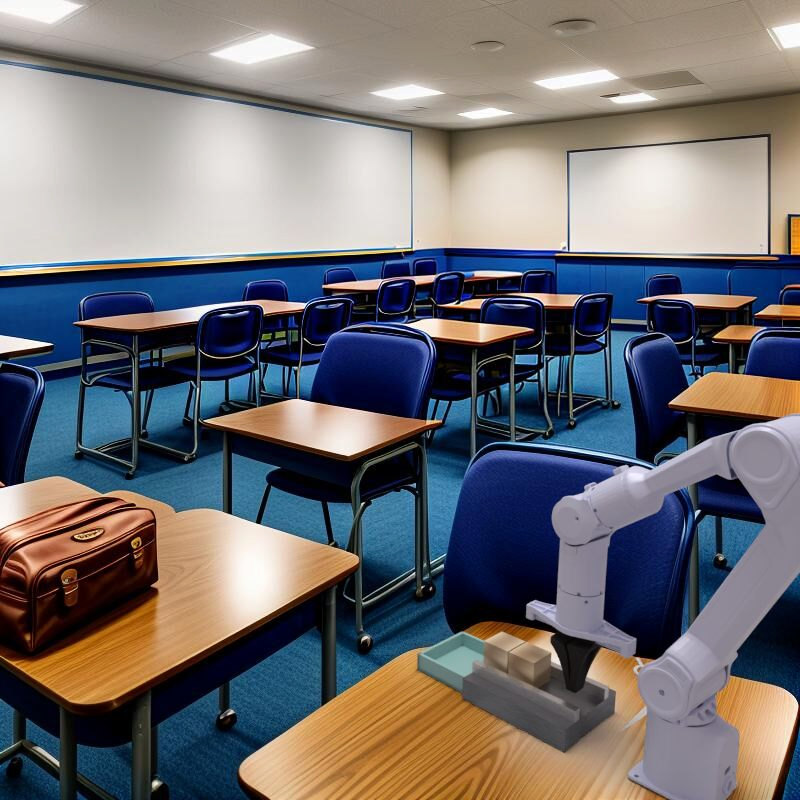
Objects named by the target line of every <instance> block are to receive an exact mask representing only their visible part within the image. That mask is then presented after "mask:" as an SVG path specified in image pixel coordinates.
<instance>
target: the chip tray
mask: <svg viewBox="0 0 800 800" xmlns="http://www.w3.org/2000/svg"><path fill="white" fill-rule="evenodd" d="M484 641H485V640H484V639H481V638H479V637H476V636H475V635H472V634H470V633H467V632H466V631H460V632H458V633H456V634H454V635H451V636H450V637H448V638H446V639H444V640H442V641H440V642H438V643H436V644H434V645H432V646H430V647H428V648H425V649H424V650H422V651H420V652H417V662H416V663H417V664H416V666H417V667H416V669H417V671H419V672H421V673H423V674H425V675H426V676H429V677H430V678H432V679H434V680H436V681H439V682H440V683H442V684H444V685H446V686H447V687H450V688H452V689H453V690H456V691H457V692H459V693H461V694H462V685H463V677H465V676H467V675H469V674H470V673H472V664H473V662H474V661H476V660H479V661H481V662H483V658H484Z"/></svg>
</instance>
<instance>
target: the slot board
mask: <svg viewBox="0 0 800 800" xmlns="http://www.w3.org/2000/svg"><path fill="white" fill-rule="evenodd" d="M616 697H617V691H616V690H613V689H611V688H610V686H609V685H606V684H604V683H602V682H600V681H597V680H595V679H594V678H590V677H589V676H587V677H586V680H585V683H584V687H583V688H582V689H581V690H580V691H578V692H577V693H573V692H571V691H569V690H567V689H566V685H565V680H564V675H563V671H562V667H561V664H560V663H559V664H558V663H556V662H553V661H552V660H551V671H550V681H548V682H547V683H545V684H544V685H542V686H541V687H539V688H536V687H534V686H532V685H530V684H528V683H526V682H523V681H521V680H519V679H517V678H515V677H513V676H511V675H509V674H506V673H504V672H502V671H500V670H498V669H496V668H494V667H492V666H490V665H487V664H485V663H483V662H481V661H479V660H476V661H474V662H473V664H472V673H470V674H469V675H467V676H465V677H463V685H462V693H461V698H462V700H464V701H466V702H468V703H470V704H471V705H473V706H476V707H478V708H480V709H481V710H482V711H485V712H486V713H489V714H491V715H492V716H494V717H496V718H498V719H500V720H502V721H504V722H506V723H507V724H510V725H512V726H513V727H515V728H517V729H519V730H521V731H523V732H525V733H527V734H529V735H531V736H533V737H534V738H537V739H538V740H540V741H542V742H544V743H545V744H547V745H550V746H551V747H553V748H554V749H557V750H559V751H561V752H563V753H566V752H567V751H568V750H569V749H570V748H571V749H572V747H573V746H574V745H576V744H577V743H578V742H579V741H581V740H582V739H584V738H585V737H586V736H587V735H588V734H590V733H591V732H592V731H593V730H595V729H596V728H597V727H599V725H600V724H602V723H603V722H605V721H606V720H607V719H608V718H610V716H612V715H613V714H615V712H616Z"/></svg>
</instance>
